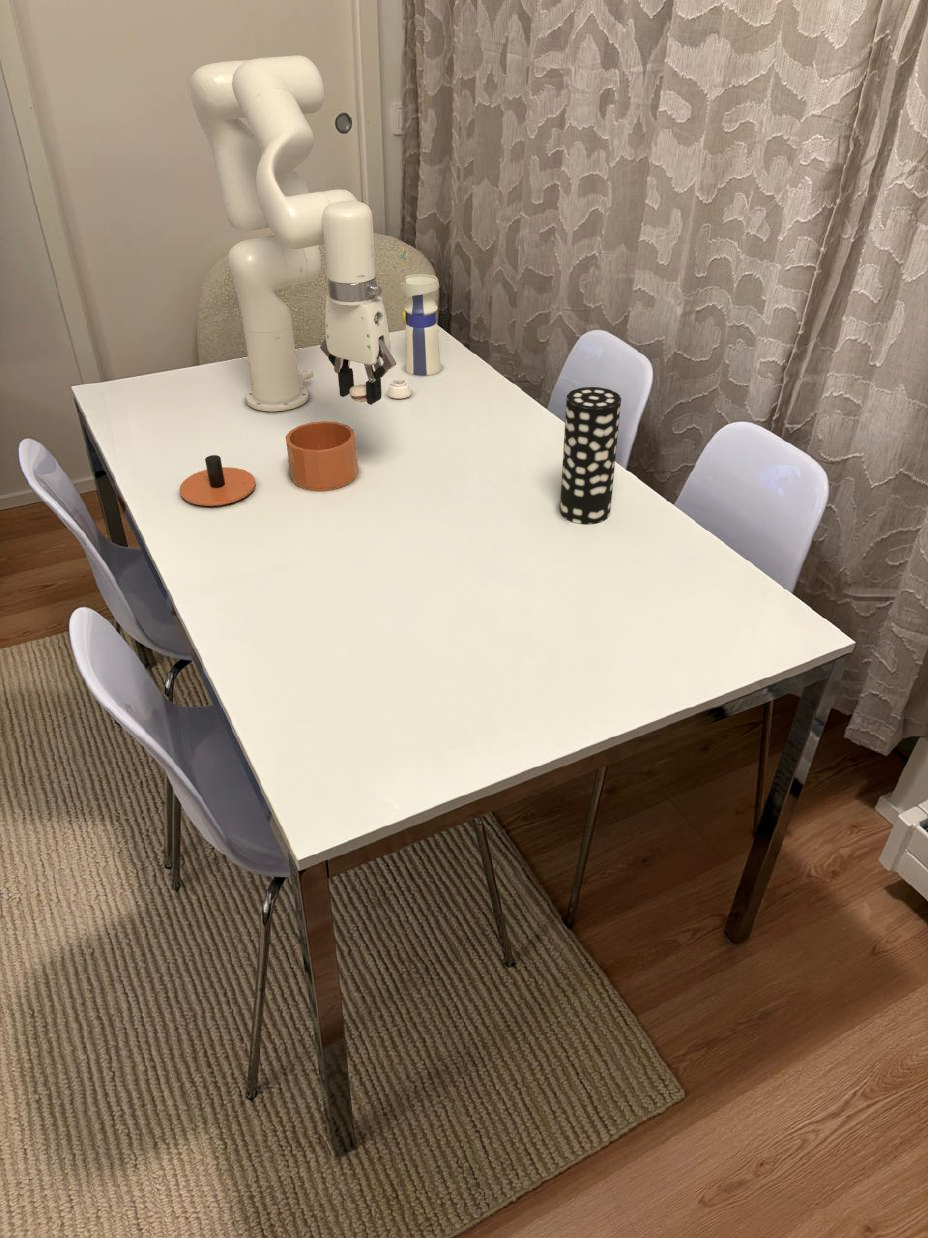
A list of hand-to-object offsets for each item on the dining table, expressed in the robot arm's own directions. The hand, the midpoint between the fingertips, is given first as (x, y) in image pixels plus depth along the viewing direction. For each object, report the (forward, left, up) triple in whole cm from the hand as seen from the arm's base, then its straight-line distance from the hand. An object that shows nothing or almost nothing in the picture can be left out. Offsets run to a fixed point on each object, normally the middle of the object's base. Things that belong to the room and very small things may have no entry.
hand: (360, 396), depth 157 cm
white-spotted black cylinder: (-9, +38, -15) cm, 42 cm away
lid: (+18, -19, -14) cm, 29 cm away
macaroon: (0, 0, -1) cm, 1 cm away
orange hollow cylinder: (+4, -7, -15) cm, 17 cm away
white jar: (-31, -16, -15) cm, 38 cm away
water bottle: (-45, -20, -15) cm, 52 cm away
